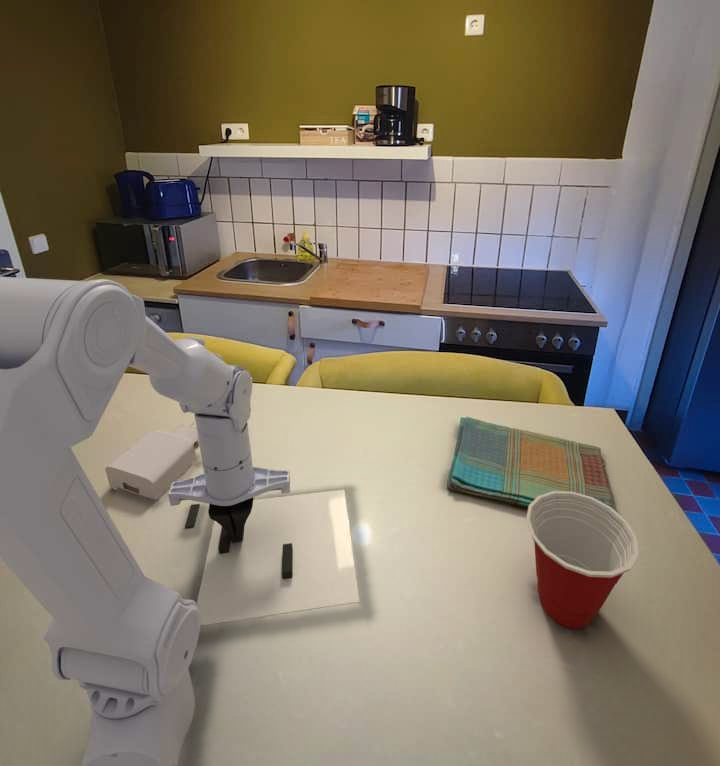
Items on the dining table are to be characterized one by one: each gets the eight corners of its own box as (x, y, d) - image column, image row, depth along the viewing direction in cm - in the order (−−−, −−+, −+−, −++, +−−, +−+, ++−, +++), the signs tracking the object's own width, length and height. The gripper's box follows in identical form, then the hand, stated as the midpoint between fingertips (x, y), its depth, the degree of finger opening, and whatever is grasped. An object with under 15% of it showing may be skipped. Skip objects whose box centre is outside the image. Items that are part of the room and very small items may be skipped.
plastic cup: (531, 542, 57) (544, 472, 53) (624, 594, 51) (646, 519, 47) (499, 608, 49) (512, 532, 45) (603, 680, 43) (629, 598, 39)
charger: (220, 440, 77) (157, 505, 63) (178, 429, 79) (110, 489, 66) (217, 418, 75) (151, 480, 62) (174, 407, 78) (103, 465, 65)
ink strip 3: (292, 578, 52) (291, 571, 51) (282, 579, 52) (281, 572, 51) (292, 549, 55) (292, 542, 55) (283, 550, 55) (282, 544, 55)
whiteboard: (366, 613, 49) (366, 607, 49) (184, 640, 46) (183, 634, 46) (348, 490, 66) (348, 485, 65) (214, 505, 63) (213, 500, 63)
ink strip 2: (229, 552, 55) (227, 546, 55) (219, 554, 55) (218, 547, 54) (232, 527, 59) (231, 520, 58) (223, 528, 58) (222, 522, 58)
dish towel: (459, 423, 81) (460, 411, 80) (597, 451, 73) (600, 439, 73) (445, 491, 66) (446, 478, 65) (618, 535, 58) (622, 521, 57)
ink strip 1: (185, 533, 59) (194, 532, 59) (184, 527, 58) (193, 526, 59) (192, 510, 62) (200, 509, 63) (191, 504, 62) (199, 503, 62)
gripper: (287, 426, 57) (293, 504, 61) (173, 437, 55) (188, 516, 60) (286, 465, 50) (293, 549, 55) (156, 478, 48) (174, 564, 53)
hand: (238, 535), depth 57 cm, fingers closed
